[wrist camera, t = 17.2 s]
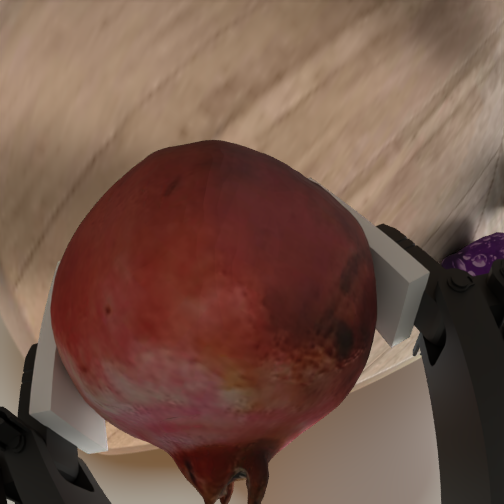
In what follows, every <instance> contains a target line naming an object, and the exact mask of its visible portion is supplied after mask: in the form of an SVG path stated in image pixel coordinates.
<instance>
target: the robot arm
mask: <svg viewBox="0 0 504 504" xmlns="http://www.w3.org/2000/svg"><path fill="white" fill-rule="evenodd" d="M308 179H309V180H311V181H313V182H315V183H318V182H316V181H315V180H314V179H312V178H308ZM318 184H319V183H318ZM319 185H320V186H322V185H321V184H319ZM322 187H323V186H322ZM323 188H324V189H325V190H327V189H326V188H325V187H323ZM327 191H328V192H329V193H330V194H331V195H332V196H333V197H334V198H335V199H336V200H338V201H339V202H340V203H341V204H342V205H343V206H344V207H345V208H346V209H347V210H349V211H350V212H351V214H352V215H353V216H354V217H355V218H356V219H357V220H358V222H359V223H360V225H361V226H362V228H363V231H364V233H365V235H366V238H367V240H368V243H369V247H370V250H371V254H372V258H373V264H374V272H375V278H376V291H377V322H376V329H377V330H378V332H379V333H380V334H381V335H382V337H383V338H384V339H385V340H386V342H387V343H388V344H389V345H390V347H391V348H392V347H393V346H395V345H397V344H399V343H400V342H402V341H404V340H405V339H407V338H409V337H410V334H411V332H412V329H413V326H414V325H415V327H416V328H417V329H418V330H419V331H420V334H419V336H418V339H417V341H416V344H415V346H414V349H413V356H416V354H417V352H418V350H419V348H420V351H421V353H420V355H422V359H423V364H424V368H425V373H426V378H427V383H428V388H429V394H430V399H431V405H432V411H433V418H434V424H435V431H436V439H437V448H438V458H439V469H440V482H441V504H504V259H497V260H495V261H494V262H493V263H492V266H491V269H490V271H489V273H486V274H482V275H477V276H472V275H470V274H469V273H468V272H466V271H464V270H461V269H456V268H450V269H445V268H443V267H442V266H441V265H440V264H439V263H438V262H436V261H435V260H434V259H433V258H432V257H430V256H429V255H428V254H427V253H426V252H424V251H423V250H422V249H421V248H420V247H418V246H417V245H416V246H415V243H413V242H412V241H411V240H410V239H407V237H406V236H405V235H403V234H402V233H401V232H400V231H398V230H397V229H395V228H393V227H390V226H388V225H385V224H381V225H378V226H375V225H373V224H372V223H371V222H370V221H368V220H367V219H366V218H365V217H363V216H362V215H361V214H359V213H358V212H357V211H356V210H354V209H353V208H352V207H350V206H349V205H348V204H346V203H345V202H344V201H342V200H341V199H340V198H338V197H337V196H336V195H334V194H333V193H332V192H330V191H329V190H327ZM60 262H61V261H58V263H57V266H56V270H55V273H54V277H53V280H52V284H51V287H50V291H49V295H48V299H47V303H46V307H45V312H44V316H43V321H42V325H41V330H40V335H39V340H38V343H37V344H34V345H32V346H31V348H30V350H29V352H28V354H27V356H26V358H25V363H24V370H23V371H24V373H23V376H22V384H21V390H20V398H19V407H18V417H16V416H15V415H14V414H12V413H11V412H10V411H9V410H7V409H6V408H4V407H0V504H7V500H6V499H9V500H11V501H13V502H15V504H111V502H110V501H109V500H108V498H107V497H106V495H105V494H104V492H103V491H102V489H101V488H100V486H99V485H98V483H97V481H96V480H95V478H94V477H93V475H92V473H91V472H90V470H89V469H88V467H87V466H86V464H85V463H84V461H83V460H82V459H80V458H79V457H78V452H77V448H79V449H81V450H82V451H84V452H86V453H88V454H90V453H97V452H103V451H108V445H107V436H106V426H105V419H103V418H102V417H101V416H100V415H99V414H98V413H97V412H96V411H95V410H94V409H93V408H91V407H90V406H89V405H88V404H87V403H86V402H85V400H84V399H83V398H82V396H81V395H80V393H79V391H78V390H77V388H76V386H75V385H74V383H73V381H72V379H71V378H70V376H69V374H68V372H67V370H66V368H65V366H64V364H63V362H62V360H61V357H60V355H59V352H58V349H57V346H56V343H55V340H54V335H53V330H52V326H51V314H50V306H51V297H52V291H53V286H54V280H55V276H56V272H57V269H58V266H59V264H60Z"/></svg>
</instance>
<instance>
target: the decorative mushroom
mask: <svg viewBox="0 0 504 504" xmlns="http://www.w3.org/2000/svg"><path fill="white" fill-rule="evenodd" d="M497 259H504V233H497V232H496V233H494V234H491V235H489V236H485V237H482V238H480V239H478V240H476V241H474V242H473V243H471V244H469V245H467V246H466V247H464V248H462V249H461V250H460V251H458V252H457V253H455V254H452V255H449V256H447V257H446V258H445V259H444V260H443V261H442V264H441V266H442V267H443V268H445V269H450V268H456V269H461V270H464V271H466V272H468V273H469V274H470V275H472V276H477V275H482V274H486V273H489V271H490V269H491V266H492V263H493V262H494V261H495V260H497Z"/></svg>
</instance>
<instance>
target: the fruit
mask: <svg viewBox="0 0 504 504" xmlns="http://www.w3.org/2000/svg"><path fill="white" fill-rule="evenodd" d="M50 314H51V326H52V330H53V335H54V340H55V343H56V346H57V349H58V352H59V355H60V357H61V360H62V362H63V364H64V366H65V368H66V370H67V372H68V374H69V376H70V378H71V379H72V381H73V383H74V385H75V386H76V388H77V390H78V391H79V393H80V395H81V396H82V398H83V399H84V400H85V402H86V403H87V404H88V405H89V406H90V407H91V408H93V409H94V410H95V411H96V412H97V413H98V414H99V415H100V416H101V417H102V418H103V419H105V420H106V421H108V422H109V423H111V424H112V425H114V426H115V427H117V428H118V429H120V430H122V431H123V432H125V433H127V434H129V435H131V436H133V437H135V438H138V439H141V440H143V441H146V442H149V443H151V444H153V445H155V446H157V447H159V448H161V449H163V450H164V451H166V452H167V453H168V454H169V455H170V456H171V457H172V458H173V459H174V461H175V463H176V464H177V466H178V468H179V469H180V471H181V472H182V474H183V475H184V476H185V478H186V479H187V480H188V481H189V482H190V483H191V484H192V485H193V486H194V487H195V488H196V490H197V491H198V492H199V493H200V495H201V496H202V497H203V499H204V502H205V504H214V503H215V502H216V500H217V499H219V498H220V502H221V504H228V502H229V501H230V498H231V495H232V493H233V487H234V481H239V480H246V485H247V489H248V504H261V501H262V499H263V497H264V494H265V491H266V487H267V483H268V479H269V472H268V463H269V461H270V460H271V459H272V458H273V457H274V456H275V455H276V453H278V452H279V451H280V450H282V449H283V448H284V447H286V446H287V445H288V444H289V443H290V442H292V440H294V439H295V438H296V437H298V436H299V435H300V434H301V433H303V432H304V431H306V430H307V429H309V428H310V427H311V426H313V425H314V424H316V423H317V422H318V421H319V420H321V419H322V418H324V417H325V416H326V415H327V414H329V413H330V412H331V411H332V410H334V409H335V408H336V407H337V406H339V405H340V403H341V402H342V401H343V400H344V399H345V398H346V396H347V395H348V394H349V392H350V391H351V390H352V388H353V387H354V385H355V384H356V382H357V380H358V378H359V376H360V375H361V373H362V371H363V369H364V367H365V365H366V363H367V360H368V357H369V354H370V350H371V347H372V343H373V338H374V333H375V328H376V322H377V291H376V278H375V272H374V264H373V258H372V254H371V250H370V247H369V243H368V240H367V238H366V235H365V233H364V231H363V228H362V226H361V225H360V223H359V222H358V220H357V219H356V218H355V217H354V216H353V215H352V214H351V212H350V211H349V210H347V209H346V208H345V207H344V206H343V205H342V204H341V203H340V202H339V201H338V200H336V199H335V198H334V197H333V196H332V195H331V194H330V193H329V192H328V191H327V190H325V189H324V188H323V187H322V186H320V185H319V184H318V183H315V182H313V181H311V180H309V179H308V178H306V177H305V176H303V175H302V174H301V173H299V172H298V171H296V170H294V169H292V168H291V167H290V166H288V165H287V164H285V163H283V162H281V161H279V160H277V159H275V158H273V157H271V156H269V155H267V154H264V153H260V152H258V151H255V150H252V149H250V148H247V147H244V146H241V145H237V144H234V143H230V142H225V141H221V140H205V141H200V142H195V143H190V144H185V145H180V146H174V147H168V148H164V149H161V150H158V151H156V152H154V153H152V154H150V155H149V156H147V157H146V158H145V159H144V160H143V161H141V162H140V163H139V164H137V165H136V166H135V167H133V168H132V169H131V170H130V171H129V172H127V173H126V174H125V175H124V176H123V177H122V178H121V179H119V180H118V181H117V182H116V183H115V184H114V185H113V186H112V187H111V188H110V189H109V190H108V191H107V192H106V193H105V194H104V195H103V196H102V197H101V198H100V200H99V201H98V202H97V203H96V204H95V206H94V207H93V208H92V209H91V211H90V212H89V213H88V214H87V216H86V217H85V218H84V220H83V221H82V222H81V224H80V225H79V227H78V229H77V230H76V232H75V233H74V235H73V237H72V239H71V241H70V242H69V244H68V246H67V248H66V251H65V253H64V255H63V257H62V259H61V262H60V264H59V266H58V269H57V272H56V276H55V280H54V286H53V291H52V297H51V306H50Z"/></svg>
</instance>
